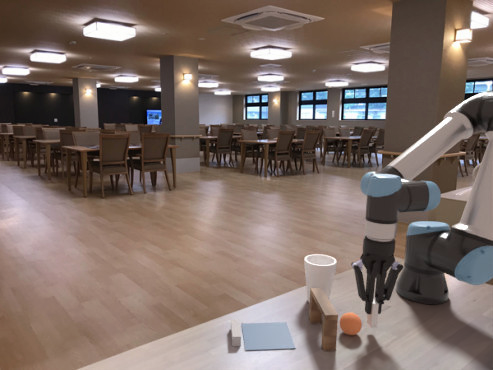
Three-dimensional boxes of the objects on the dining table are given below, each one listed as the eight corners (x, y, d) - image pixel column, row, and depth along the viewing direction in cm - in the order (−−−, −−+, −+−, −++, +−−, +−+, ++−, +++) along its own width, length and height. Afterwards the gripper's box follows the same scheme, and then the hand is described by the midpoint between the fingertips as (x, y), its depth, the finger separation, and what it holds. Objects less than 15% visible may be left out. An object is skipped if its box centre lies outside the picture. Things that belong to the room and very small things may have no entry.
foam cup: (334, 310, 116) (336, 267, 113) (301, 306, 118) (303, 264, 115) (333, 295, 125) (336, 255, 123) (303, 292, 127) (305, 253, 124)
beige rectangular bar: (238, 328, 105) (238, 319, 105) (240, 346, 98) (240, 336, 97) (230, 328, 105) (230, 319, 105) (232, 346, 97) (232, 336, 97)
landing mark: (286, 322, 108) (286, 322, 108) (295, 348, 97) (295, 348, 97) (241, 324, 107) (241, 323, 107) (245, 350, 96) (245, 349, 96)
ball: (339, 307, 105) (334, 326, 106) (347, 317, 100) (341, 338, 101) (358, 310, 106) (353, 329, 107) (368, 320, 101) (362, 340, 102)
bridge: (319, 319, 111) (321, 287, 109) (335, 350, 96) (338, 314, 95) (308, 319, 110) (310, 288, 109) (323, 350, 96) (325, 315, 94)
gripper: (397, 232, 104) (389, 316, 108) (348, 232, 103) (342, 318, 107) (412, 241, 97) (402, 332, 101) (359, 241, 95) (352, 333, 100)
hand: (371, 324), depth 104 cm, fingers closed
